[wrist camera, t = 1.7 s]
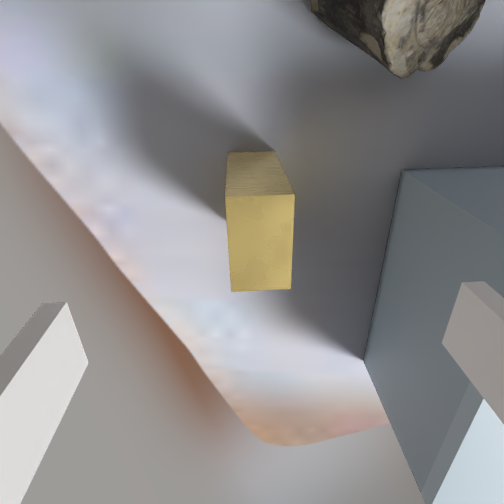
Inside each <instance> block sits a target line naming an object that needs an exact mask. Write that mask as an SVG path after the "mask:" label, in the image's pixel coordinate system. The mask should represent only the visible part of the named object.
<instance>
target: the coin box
mask: <svg viewBox="0 0 504 504" xmlns="http://www.w3.org/2000/svg"><path fill="white" fill-rule="evenodd" d="M478 281H484V282H486V283H487V284H488V285H489V286H490V287H492V288H493V289H494V290H495V291H496V292H497V293H499V294H500V295H501V296H502V297H503V298H504V166H493V167H465V168H438V169H410V170H402V172H401V177H400V181H399V186H398V191H397V196H396V201H395V206H394V211H393V216H392V221H391V226H390V231H389V236H388V241H387V246H386V251H385V256H384V261H383V266H382V271H381V276H380V281H379V286H378V291H377V296H376V301H375V306H374V311H373V316H372V321H371V326H370V331H369V336H368V341H367V346H366V351H365V356H364V364H365V366H366V368H367V371H368V373H369V375H370V377H371V380H372V382H373V384H374V387H375V389H376V391H377V394H378V396H379V398H380V400H381V403H382V405H383V407H384V410H385V412H386V414H387V417H388V419H389V421H390V423H391V425H392V428H393V430H394V432H395V435H396V437H397V439H398V442H399V444H400V446H401V449H402V451H403V453H404V456H405V458H406V460H407V462H408V465H409V467H410V469H411V472H412V474H413V476H414V479H415V481H416V483H417V485H418V487H419V490H420V492H421V495H422V497H423V499H424V502H425V504H504V424H503V423H502V422H501V420H500V419H499V418H498V416H497V415H496V414H495V412H494V411H493V410H492V408H491V407H490V406H489V404H488V403H487V402H486V401H485V399H484V398H483V397H482V395H481V394H480V393H479V391H478V390H477V389H476V387H475V386H474V385H473V384H472V382H471V381H470V380H469V378H468V377H467V376H466V374H465V373H464V372H463V370H462V369H461V368H460V366H459V365H458V364H457V363H456V361H455V360H454V359H453V357H452V356H451V355H450V353H449V352H448V351H447V349H446V348H445V347H444V346H443V344H442V341H443V338H444V335H445V332H446V329H447V326H448V323H449V320H450V317H451V314H452V311H453V308H454V305H455V302H456V299H457V296H458V293H459V290H460V287H461V284H462V282H478Z"/></svg>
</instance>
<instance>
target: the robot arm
mask: <svg viewBox="0 0 504 504" xmlns="http://www.w3.org/2000/svg"><path fill="white" fill-rule="evenodd" d="M442 344H443V346H444V347H445V348H446V349H447V351H448V352H449V353H450V355H451V356H452V357H453V359H454V360H455V361H456V363H457V364H458V365H459V366H460V368H461V369H462V370H463V372H464V373H465V374H466V376H467V377H468V378H469V380H470V381H471V382H472V384H473V385H474V386H475V387H476V389H477V390H478V391H479V393H480V394H481V395H482V397H483V398H484V399H485V401H486V402H487V403H488V404H489V406H490V407H491V408H492V410H493V411H494V412H495V414H496V415H497V416H498V418H499V419H500V420H501V422H502V423H503V424H504V298H503V297H502V296H501V295H500V294H499V293H497V292H496V291H495V290H494V289H493V288H492V287H490V286H489V285H488V284H487V283H486V282H484V281H478V282H462V284H461V287H460V290H459V293H458V296H457V299H456V302H455V305H454V308H453V311H452V314H451V317H450V320H449V323H448V326H447V329H446V332H445V335H444V338H443V341H442ZM87 365H88V360H87V357H86V355H85V352H84V349H83V346H82V343H81V341H80V338H79V335H78V332H77V330H76V327H75V324H74V321H73V318H72V316H71V313H70V310H69V307H68V305H67V302H58V303H42V304H41V306H40V307H39V308H38V310H37V311H36V312H35V313H34V315H33V316H32V317H31V318H30V319H29V321H28V322H27V323H26V324H25V326H24V327H23V328H22V329H21V331H20V332H19V333H18V334H17V336H16V337H15V338H14V339H13V341H12V342H11V343H10V344H9V346H8V347H7V348H6V349H5V351H4V352H3V353H2V354H1V355H0V504H20V503H21V501H22V499H23V497H24V495H25V493H26V491H27V489H28V487H29V485H30V483H31V480H32V479H33V476H34V474H35V472H36V470H37V468H38V466H39V464H40V462H41V460H42V458H43V456H44V453H45V452H46V450H47V448H48V446H49V443H50V441H51V439H52V437H53V435H54V433H55V431H56V429H57V427H58V425H59V423H60V421H61V419H62V417H63V415H64V413H65V410H66V408H67V406H68V404H69V402H70V400H71V398H72V396H73V394H74V392H75V390H76V388H77V386H78V384H79V382H80V380H81V377H82V375H83V373H84V371H85V369H86V367H87Z"/></svg>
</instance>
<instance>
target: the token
mask: <svg viewBox="0 0 504 504" xmlns="http://www.w3.org/2000/svg"><path fill="white" fill-rule="evenodd" d="M225 203H226V219H227V234H228V249H229V265H230V280H231V292H237V291H259V290H280V289H291V274H292V251H293V228H294V205H295V193H294V191H293V189H292V187H291V185H290V183H289V180H288V178H287V176H286V174H285V172H284V170H283V168H282V165H281V163H280V161H279V159H278V157H277V155H276V152H275V151H261V152H232V153H228V156H227V173H226V190H225Z"/></svg>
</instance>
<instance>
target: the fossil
mask: <svg viewBox="0 0 504 504" xmlns="http://www.w3.org/2000/svg"><path fill="white" fill-rule="evenodd" d="M310 2H311V11H312V12H313V13H315V15H316V16H317V17H318V18H319V19H320V20H321V21H322V22H324V23H325V24H326V25H328V26H329V27H330V28H332V29H334V30H335V31H336V32H338V33H339V34H341V35H342V36H343V37H345V38H346V39H347V40H349V41H350V42H351V43H353V44H354V45H356V46H357V47H359V48H360V49H361V50H363V51H364V52H366V53H367V54H369V55H370V56H372V57H373V58H375V59H376V60H377V61H379V62H380V63H381V64H382V65H384V66H385V67H386V68H387V69H388V70H389V71H390V72H392V73H393V74H394V75H396V76H398V77H400V78H401V79H402V78H404V77H409V76H410V75H411V74H412V73H413V72H415V71H416V70H417V69H419V70H422V71H430V70H433V69H435V68H436V67H438V66H439V65H440V64H441V63H442V62H443V61H444V60H445V59H446V58H447V56H448V53H450V52H451V51H452V50H453V49H454V48H455V47H456V46H457V45H458V44H460V43H461V42H462V40H463V39H464V38H465V37H466V36H467V35H468V34H469V32H470V31H471V30H472V29H473V27H474V25H475V23H476V21H477V20H478V18H479V14H480V12H481V10H482V8H483V5H484V3H485V0H310Z"/></svg>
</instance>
